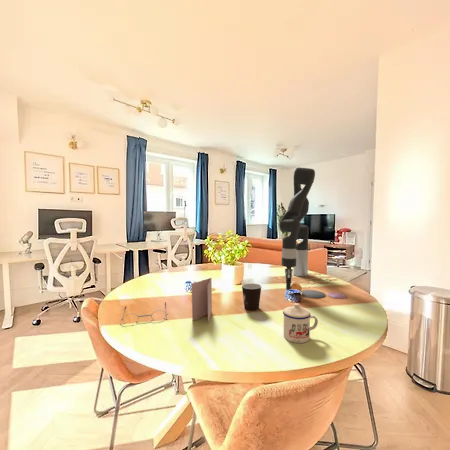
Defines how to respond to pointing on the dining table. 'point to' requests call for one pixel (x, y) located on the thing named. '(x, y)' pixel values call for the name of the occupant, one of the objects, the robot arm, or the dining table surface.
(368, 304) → the dining table surface
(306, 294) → the disc
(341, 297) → the disc
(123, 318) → the eyeglasses
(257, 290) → the coffee mug
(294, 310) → the teacup with lid
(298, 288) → the ball
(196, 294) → the greeting card
